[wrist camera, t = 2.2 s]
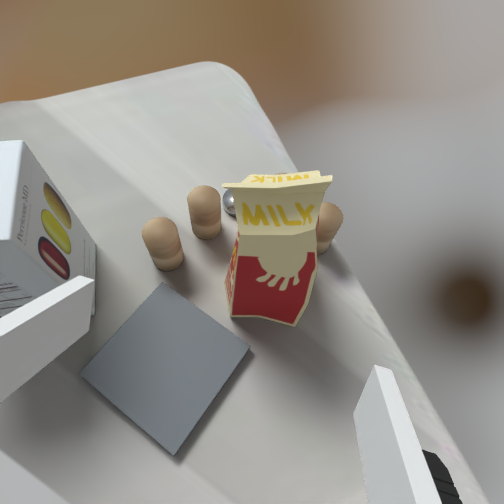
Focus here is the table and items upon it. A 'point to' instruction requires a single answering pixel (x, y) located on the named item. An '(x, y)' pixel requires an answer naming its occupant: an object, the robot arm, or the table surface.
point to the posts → (215, 227)
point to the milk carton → (275, 245)
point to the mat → (166, 366)
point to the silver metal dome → (228, 203)
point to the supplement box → (36, 232)
